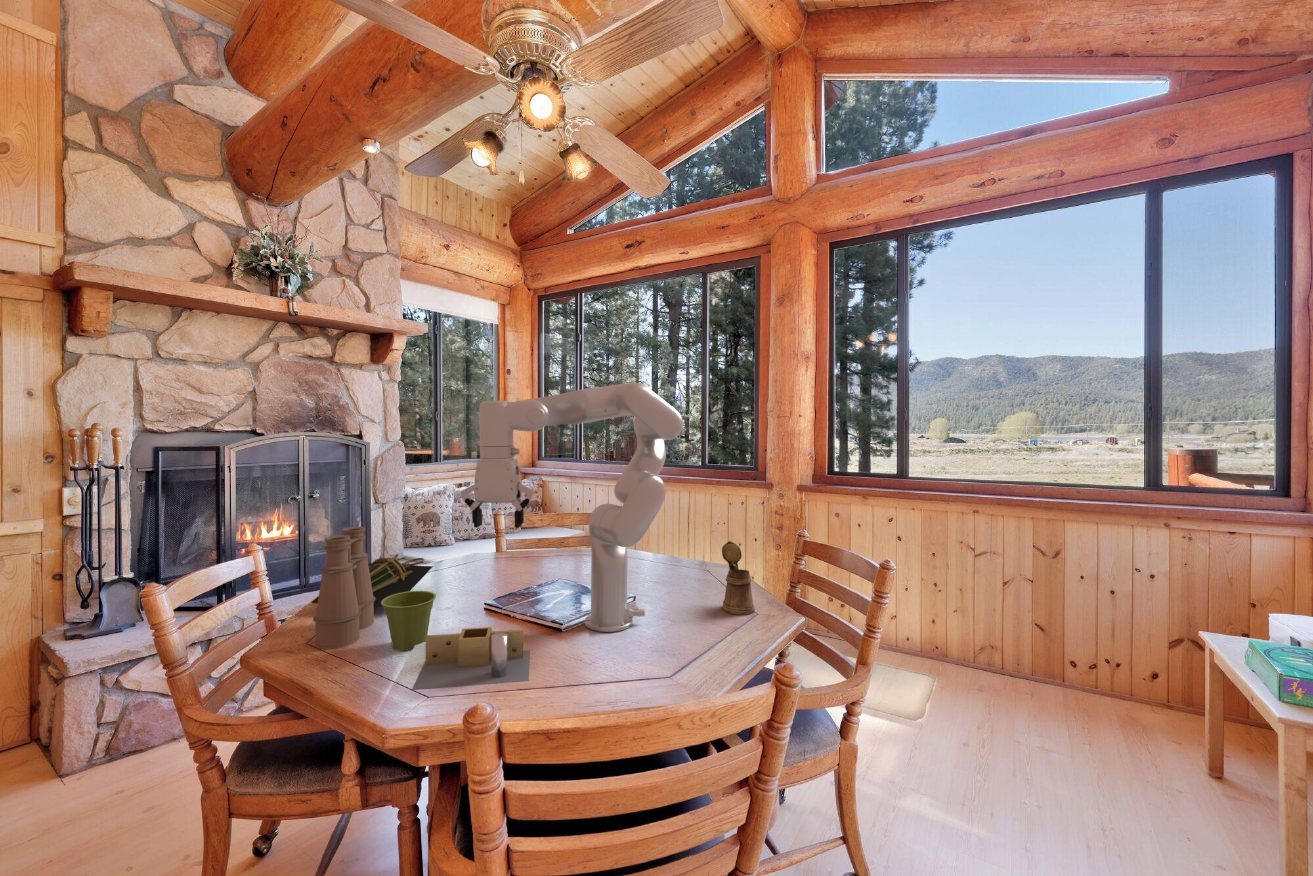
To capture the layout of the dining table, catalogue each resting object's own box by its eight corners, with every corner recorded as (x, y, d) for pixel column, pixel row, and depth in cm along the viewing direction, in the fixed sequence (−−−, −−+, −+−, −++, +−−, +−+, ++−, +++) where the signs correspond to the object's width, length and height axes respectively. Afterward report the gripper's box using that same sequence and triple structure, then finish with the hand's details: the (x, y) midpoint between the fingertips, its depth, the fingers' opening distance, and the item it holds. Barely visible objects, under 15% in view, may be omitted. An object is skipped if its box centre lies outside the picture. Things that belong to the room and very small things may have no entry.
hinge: (523, 651, 125) (523, 625, 125) (522, 663, 119) (523, 635, 119) (428, 657, 121) (428, 630, 121) (422, 670, 115) (422, 641, 115)
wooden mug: (742, 599, 168) (743, 540, 168) (759, 614, 155) (760, 550, 154) (714, 600, 166) (715, 541, 166) (728, 616, 153) (729, 551, 153)
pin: (507, 669, 116) (507, 632, 115) (506, 676, 112) (507, 638, 112) (491, 671, 115) (492, 633, 115) (490, 678, 112) (490, 639, 112)
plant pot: (396, 635, 136) (396, 589, 136) (444, 636, 136) (444, 591, 136) (370, 655, 124) (370, 606, 124) (422, 657, 124) (422, 607, 124)
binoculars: (352, 648, 128) (352, 541, 127) (305, 650, 126) (305, 542, 126) (380, 617, 148) (380, 524, 148) (340, 618, 147) (340, 525, 146)
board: (530, 655, 126) (530, 650, 126) (528, 686, 111) (528, 680, 111) (427, 662, 121) (427, 657, 121) (411, 696, 106) (411, 690, 106)
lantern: (312, 626, 152) (370, 569, 180) (395, 635, 152) (440, 577, 180) (308, 583, 148) (368, 531, 176) (394, 593, 147) (440, 540, 176)
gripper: (538, 452, 132) (539, 523, 132) (467, 452, 133) (468, 523, 134) (528, 454, 124) (529, 530, 125) (453, 454, 125) (455, 529, 126)
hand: (498, 526), depth 129 cm, fingers open, 9 cm apart
